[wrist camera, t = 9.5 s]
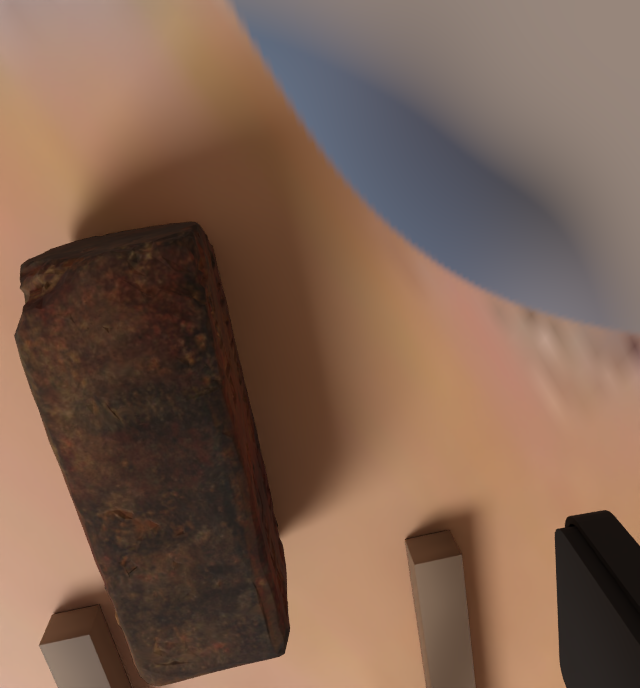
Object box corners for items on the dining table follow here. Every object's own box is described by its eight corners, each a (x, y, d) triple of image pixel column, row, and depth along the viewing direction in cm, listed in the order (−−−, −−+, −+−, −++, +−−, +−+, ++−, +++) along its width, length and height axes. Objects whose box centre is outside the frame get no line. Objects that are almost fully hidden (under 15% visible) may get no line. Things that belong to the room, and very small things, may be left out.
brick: (287, 540, 19) (298, 663, 14) (165, 567, 19) (138, 699, 14) (209, 210, 15) (192, 238, 11) (57, 239, 15) (-25, 280, 11)
